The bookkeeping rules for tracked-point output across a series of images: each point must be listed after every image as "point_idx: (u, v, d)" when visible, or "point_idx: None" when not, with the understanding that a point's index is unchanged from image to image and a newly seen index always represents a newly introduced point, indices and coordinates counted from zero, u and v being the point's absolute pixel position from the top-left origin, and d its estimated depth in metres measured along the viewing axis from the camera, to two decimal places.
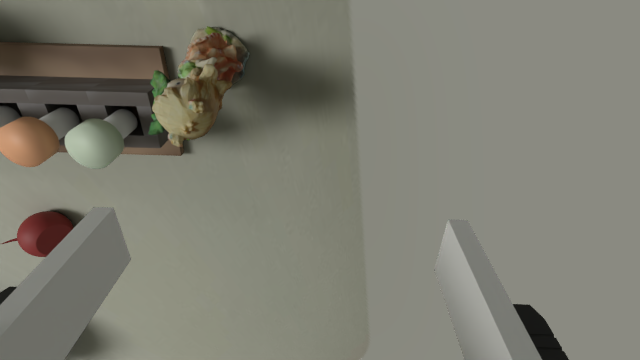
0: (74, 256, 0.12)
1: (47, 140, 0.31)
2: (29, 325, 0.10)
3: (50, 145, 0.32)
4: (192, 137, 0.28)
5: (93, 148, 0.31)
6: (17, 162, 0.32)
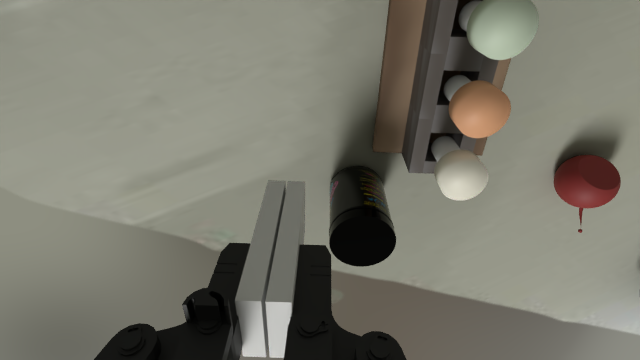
0: (278, 218, 0.14)
1: (482, 85, 0.27)
2: (270, 270, 0.12)
3: (488, 85, 0.27)
4: None
5: (507, 23, 0.24)
6: (500, 125, 0.27)
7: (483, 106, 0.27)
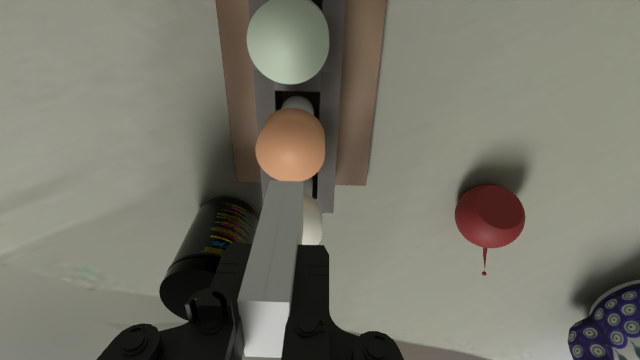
0: (280, 218, 0.14)
1: (285, 115, 0.20)
2: None
3: (295, 115, 0.20)
4: None
5: (286, 35, 0.17)
6: (317, 167, 0.21)
7: (287, 143, 0.20)
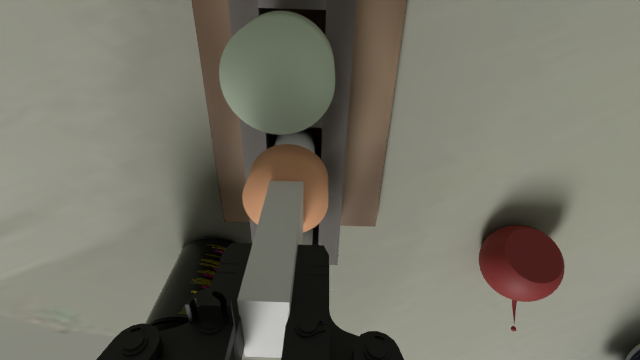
0: (280, 218, 0.14)
1: (279, 156, 0.16)
2: None
3: (291, 155, 0.16)
4: None
5: (275, 70, 0.12)
6: (318, 218, 0.17)
7: None
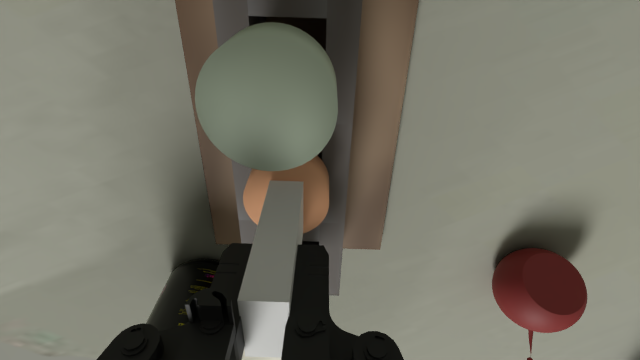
0: (280, 218, 0.14)
1: None
2: None
3: None
4: None
5: (263, 96, 0.10)
6: (319, 219, 0.17)
7: None
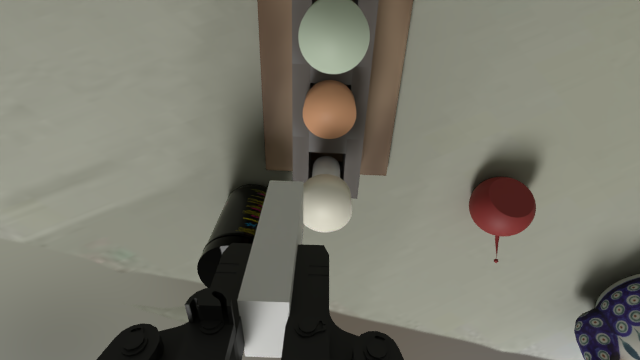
0: (280, 218, 0.14)
1: (326, 84, 0.26)
2: None
3: (334, 84, 0.26)
4: None
5: (333, 30, 0.20)
6: (349, 126, 0.27)
7: (328, 106, 0.26)
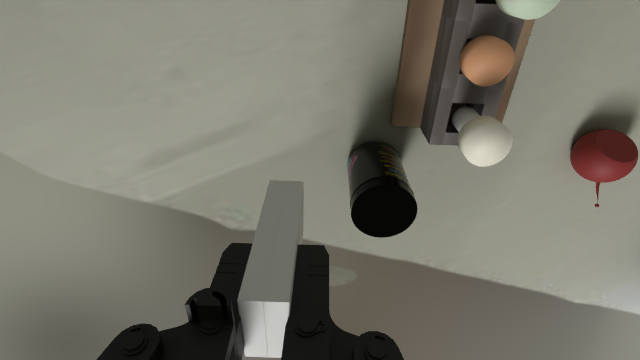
0: (280, 218, 0.14)
1: (489, 37, 0.30)
2: None
3: (495, 37, 0.30)
4: None
5: None
6: (505, 74, 0.31)
7: (490, 56, 0.30)
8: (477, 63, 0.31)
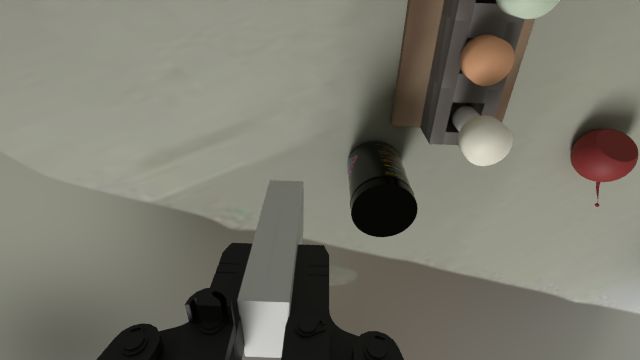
0: (280, 218, 0.14)
1: (489, 37, 0.30)
2: None
3: (495, 37, 0.30)
4: None
5: None
6: (505, 74, 0.31)
7: (490, 55, 0.30)
8: (477, 63, 0.31)
